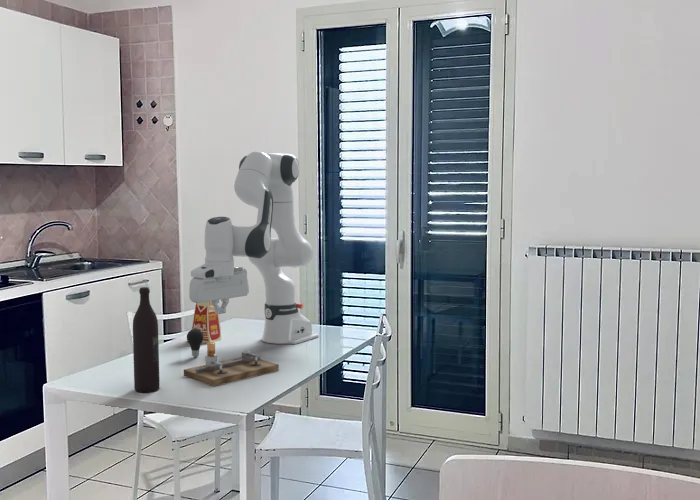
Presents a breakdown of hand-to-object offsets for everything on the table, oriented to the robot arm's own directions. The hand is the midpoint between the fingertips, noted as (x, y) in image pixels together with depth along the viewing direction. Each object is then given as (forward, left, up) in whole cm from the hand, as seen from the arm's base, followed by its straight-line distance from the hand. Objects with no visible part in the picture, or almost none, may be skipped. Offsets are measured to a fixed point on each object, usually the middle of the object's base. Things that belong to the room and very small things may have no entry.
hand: (220, 313), depth 222 cm
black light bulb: (-6, -23, -20) cm, 31 cm away
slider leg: (+4, +2, -17) cm, 18 cm away
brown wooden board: (-3, +2, -19) cm, 20 cm away
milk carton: (-24, -43, -20) cm, 53 cm away
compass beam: (-3, +2, -17) cm, 18 cm away
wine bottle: (+25, -1, -20) cm, 32 cm away
